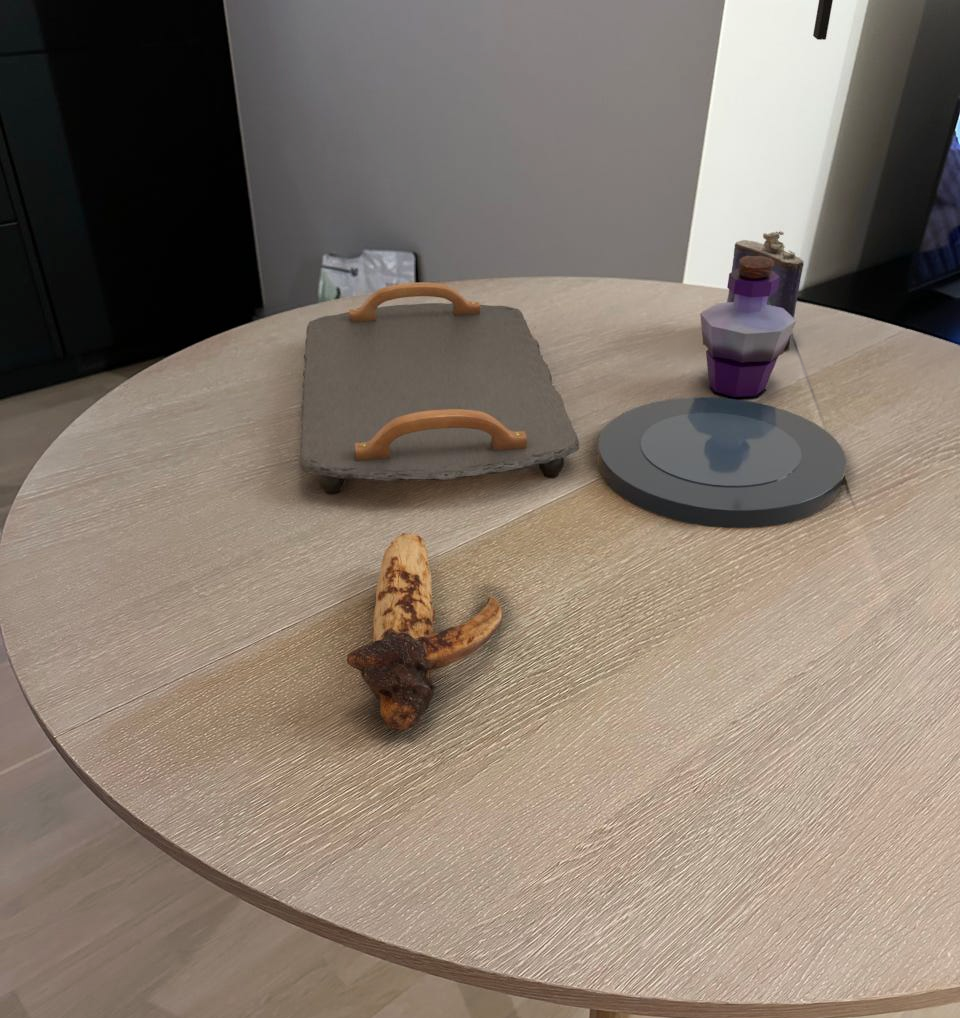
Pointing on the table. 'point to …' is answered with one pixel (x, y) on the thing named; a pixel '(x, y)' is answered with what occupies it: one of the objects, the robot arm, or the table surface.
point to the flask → (784, 267)
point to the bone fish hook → (413, 635)
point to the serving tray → (428, 393)
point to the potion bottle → (745, 332)
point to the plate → (721, 462)
